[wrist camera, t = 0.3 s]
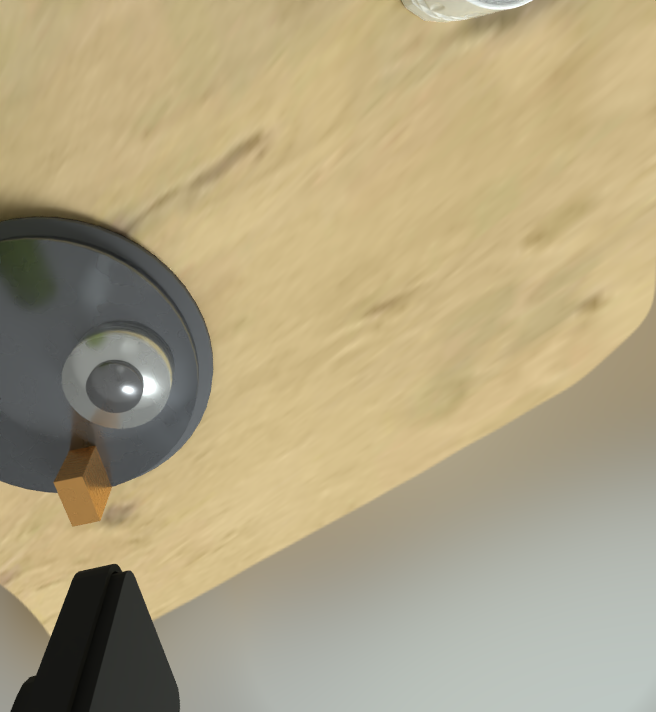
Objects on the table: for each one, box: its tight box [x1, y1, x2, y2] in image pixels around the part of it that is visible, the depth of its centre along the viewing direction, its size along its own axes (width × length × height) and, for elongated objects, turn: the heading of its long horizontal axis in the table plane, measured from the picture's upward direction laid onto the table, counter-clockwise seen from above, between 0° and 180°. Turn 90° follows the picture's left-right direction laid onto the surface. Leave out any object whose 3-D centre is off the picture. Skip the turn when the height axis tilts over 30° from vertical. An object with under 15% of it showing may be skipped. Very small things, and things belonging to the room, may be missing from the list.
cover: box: [62, 320, 175, 429], centre depth 39 cm, size 7×7×4 cm
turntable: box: [0, 235, 199, 527], centre depth 39 cm, size 20×20×6 cm
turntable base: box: [0, 217, 213, 478], centre depth 42 cm, size 22×22×1 cm
